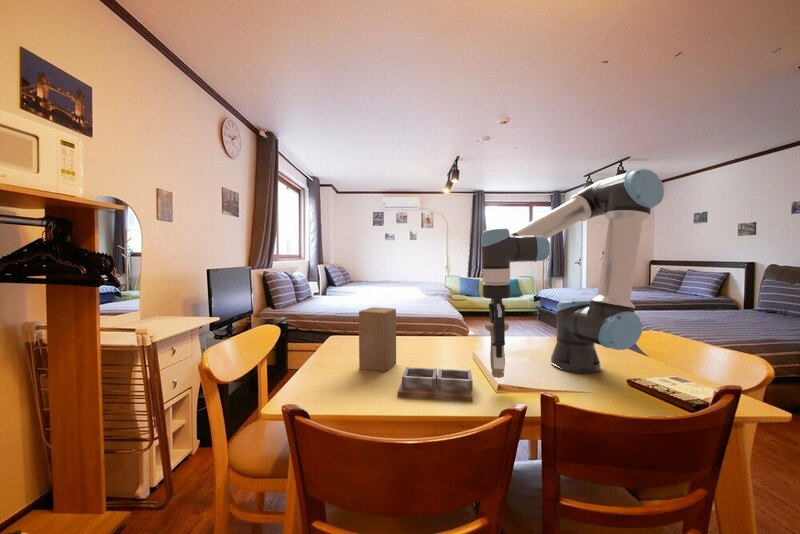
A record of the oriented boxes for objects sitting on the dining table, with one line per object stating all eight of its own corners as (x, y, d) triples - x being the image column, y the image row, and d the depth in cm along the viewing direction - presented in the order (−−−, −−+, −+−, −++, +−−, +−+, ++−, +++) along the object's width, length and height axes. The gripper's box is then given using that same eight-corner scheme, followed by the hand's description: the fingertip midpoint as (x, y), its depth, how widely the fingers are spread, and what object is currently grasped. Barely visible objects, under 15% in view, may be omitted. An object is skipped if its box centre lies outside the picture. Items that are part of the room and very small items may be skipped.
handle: (512, 379, 91) (511, 325, 90) (489, 380, 91) (487, 326, 90) (506, 373, 96) (505, 322, 95) (484, 373, 96) (483, 322, 95)
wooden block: (358, 369, 112) (358, 311, 112) (371, 360, 122) (371, 307, 121) (385, 372, 109) (384, 312, 108) (396, 363, 118) (396, 308, 117)
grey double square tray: (470, 381, 100) (470, 367, 100) (473, 401, 86) (473, 384, 86) (405, 378, 103) (404, 364, 103) (397, 396, 90) (397, 380, 90)
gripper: (480, 281, 101) (481, 356, 102) (485, 286, 85) (487, 376, 85) (505, 281, 100) (506, 356, 101) (515, 286, 83) (517, 376, 84)
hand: (497, 365), depth 93 cm, fingers closed on handle, 4 cm apart
